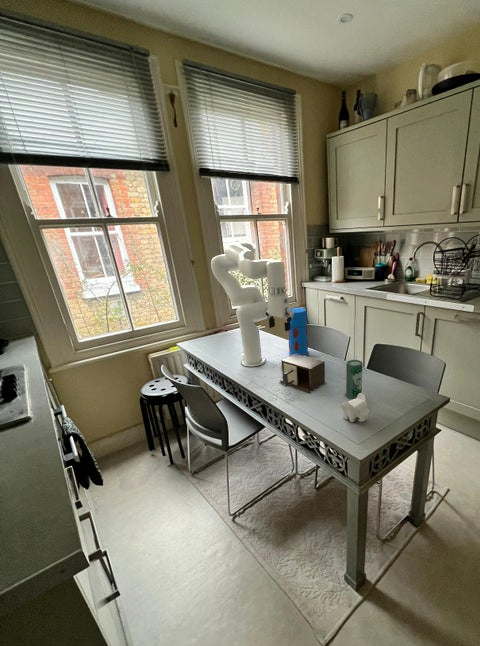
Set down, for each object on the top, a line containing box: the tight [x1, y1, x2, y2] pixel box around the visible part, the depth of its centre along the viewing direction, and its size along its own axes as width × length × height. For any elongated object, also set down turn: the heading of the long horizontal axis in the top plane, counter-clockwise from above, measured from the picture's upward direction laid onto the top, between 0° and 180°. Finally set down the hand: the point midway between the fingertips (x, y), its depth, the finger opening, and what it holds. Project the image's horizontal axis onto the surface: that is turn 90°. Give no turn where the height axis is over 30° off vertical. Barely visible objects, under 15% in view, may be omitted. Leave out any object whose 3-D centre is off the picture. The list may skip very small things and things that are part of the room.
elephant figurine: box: [340, 392, 374, 423], centre depth 116 cm, size 10×12×9 cm
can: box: [345, 359, 364, 400], centre depth 131 cm, size 6×6×15 cm
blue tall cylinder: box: [287, 307, 309, 356], centre depth 176 cm, size 11×11×25 cm
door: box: [284, 363, 298, 387], centre depth 140 cm, size 7×6×9 cm
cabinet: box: [279, 354, 326, 394], centre depth 144 cm, size 17×12×11 cm
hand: (279, 328), depth 143 cm, fingers open, 9 cm apart
